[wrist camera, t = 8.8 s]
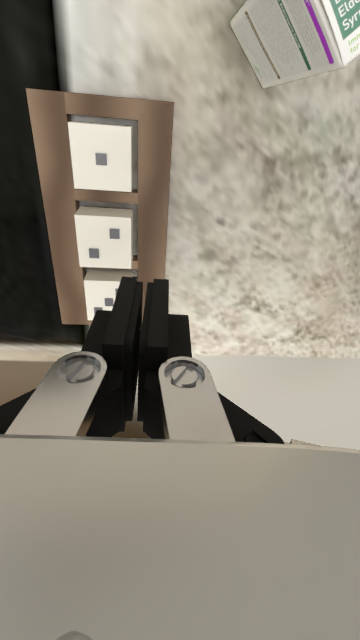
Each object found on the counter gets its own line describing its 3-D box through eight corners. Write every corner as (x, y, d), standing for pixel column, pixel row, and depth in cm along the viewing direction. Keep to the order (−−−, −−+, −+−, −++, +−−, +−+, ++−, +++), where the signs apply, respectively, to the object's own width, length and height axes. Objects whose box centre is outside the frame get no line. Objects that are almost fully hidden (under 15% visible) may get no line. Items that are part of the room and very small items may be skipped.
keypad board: (172, 102, 28) (173, 102, 27) (161, 319, 40) (161, 326, 39) (31, 89, 27) (25, 88, 25) (65, 317, 39) (62, 323, 38)
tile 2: (132, 209, 31) (130, 218, 28) (132, 257, 34) (131, 269, 31) (80, 206, 31) (73, 215, 28) (85, 255, 33) (79, 267, 31)
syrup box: (262, 92, 28) (346, 77, 16) (225, 20, 25) (293, -63, 13) (321, 39, 26) (464, -22, 14) (288, -43, 24) (432, -206, 11)
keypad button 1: (132, 125, 28) (130, 127, 25) (133, 185, 31) (131, 192, 28) (75, 120, 28) (67, 121, 25) (80, 182, 30) (73, 188, 28)
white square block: (133, 270, 36) (132, 282, 33) (133, 307, 39) (132, 322, 36) (88, 268, 35) (83, 281, 33) (91, 306, 38) (87, 321, 35)
